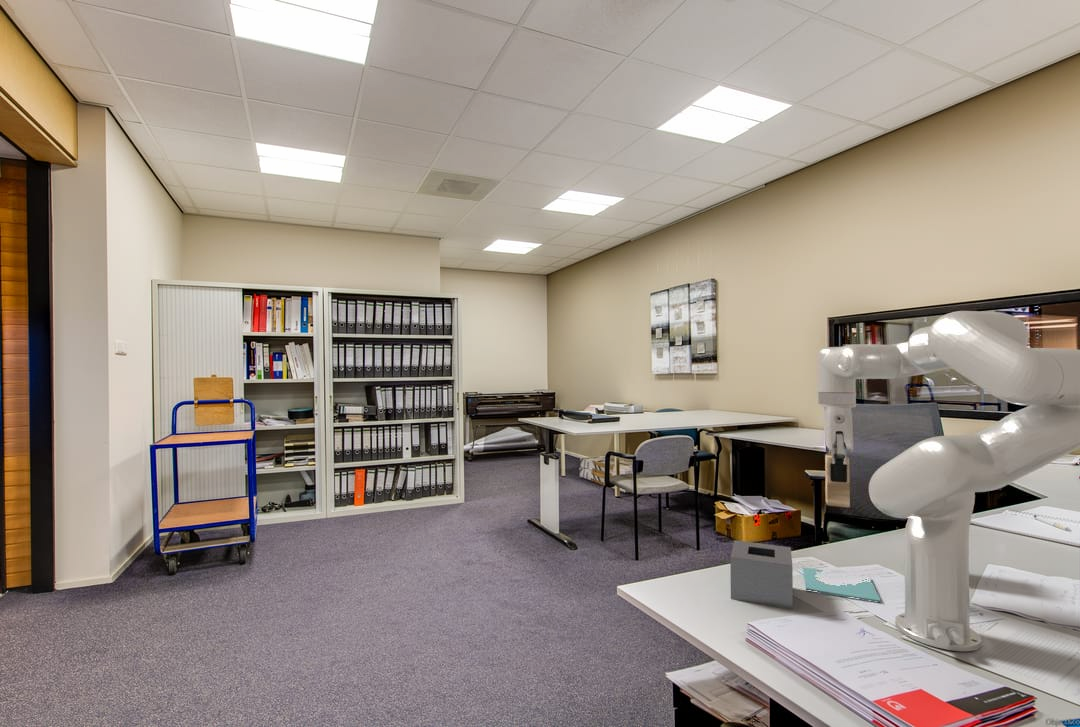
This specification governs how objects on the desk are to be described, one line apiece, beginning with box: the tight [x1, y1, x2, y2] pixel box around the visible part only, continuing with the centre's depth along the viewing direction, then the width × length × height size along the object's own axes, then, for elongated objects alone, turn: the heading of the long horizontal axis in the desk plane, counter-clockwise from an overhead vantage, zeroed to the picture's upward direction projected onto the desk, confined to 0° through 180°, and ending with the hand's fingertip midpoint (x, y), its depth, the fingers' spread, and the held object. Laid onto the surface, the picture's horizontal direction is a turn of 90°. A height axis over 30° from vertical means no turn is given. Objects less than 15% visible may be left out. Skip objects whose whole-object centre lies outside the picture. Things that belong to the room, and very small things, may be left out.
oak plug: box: [824, 454, 851, 508], centre depth 118 cm, size 4×4×11 cm
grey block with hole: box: [729, 539, 794, 610], centre depth 113 cm, size 12×12×9 cm
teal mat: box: [802, 566, 882, 603], centre depth 117 cm, size 14×14×1 cm
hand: (837, 478), depth 118 cm, fingers closed on oak plug, 4 cm apart
